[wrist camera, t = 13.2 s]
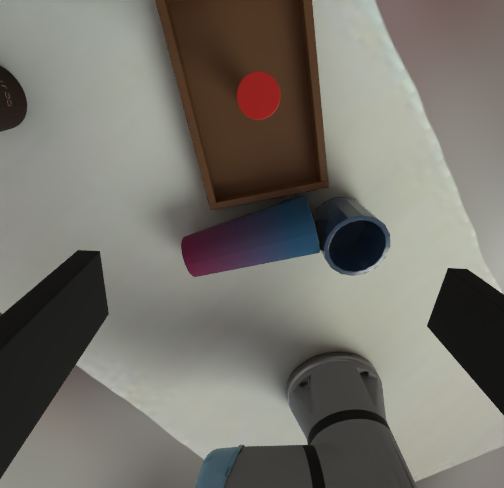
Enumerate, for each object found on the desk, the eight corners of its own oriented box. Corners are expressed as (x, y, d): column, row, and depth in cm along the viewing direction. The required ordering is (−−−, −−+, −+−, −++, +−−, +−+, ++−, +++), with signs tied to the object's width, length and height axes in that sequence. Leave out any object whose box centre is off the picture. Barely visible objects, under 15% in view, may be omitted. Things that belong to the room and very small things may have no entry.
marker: (265, 109, 33) (283, 114, 18) (242, 115, 33) (241, 124, 19) (261, 82, 31) (276, 66, 17) (236, 88, 32) (232, 76, 18)
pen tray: (323, 182, 37) (328, 187, 34) (212, 203, 37) (210, 210, 35) (302, -36, 28) (307, -49, 26) (159, -3, 29) (152, -12, 26)
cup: (186, 223, 39) (301, 190, 37) (204, 269, 41) (313, 241, 39) (172, 240, 33) (309, 202, 31) (193, 294, 35) (323, 261, 33)
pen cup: (367, 242, 40) (390, 268, 34) (314, 252, 41) (328, 280, 34) (364, 191, 37) (389, 209, 31) (307, 203, 38) (321, 223, 31)
